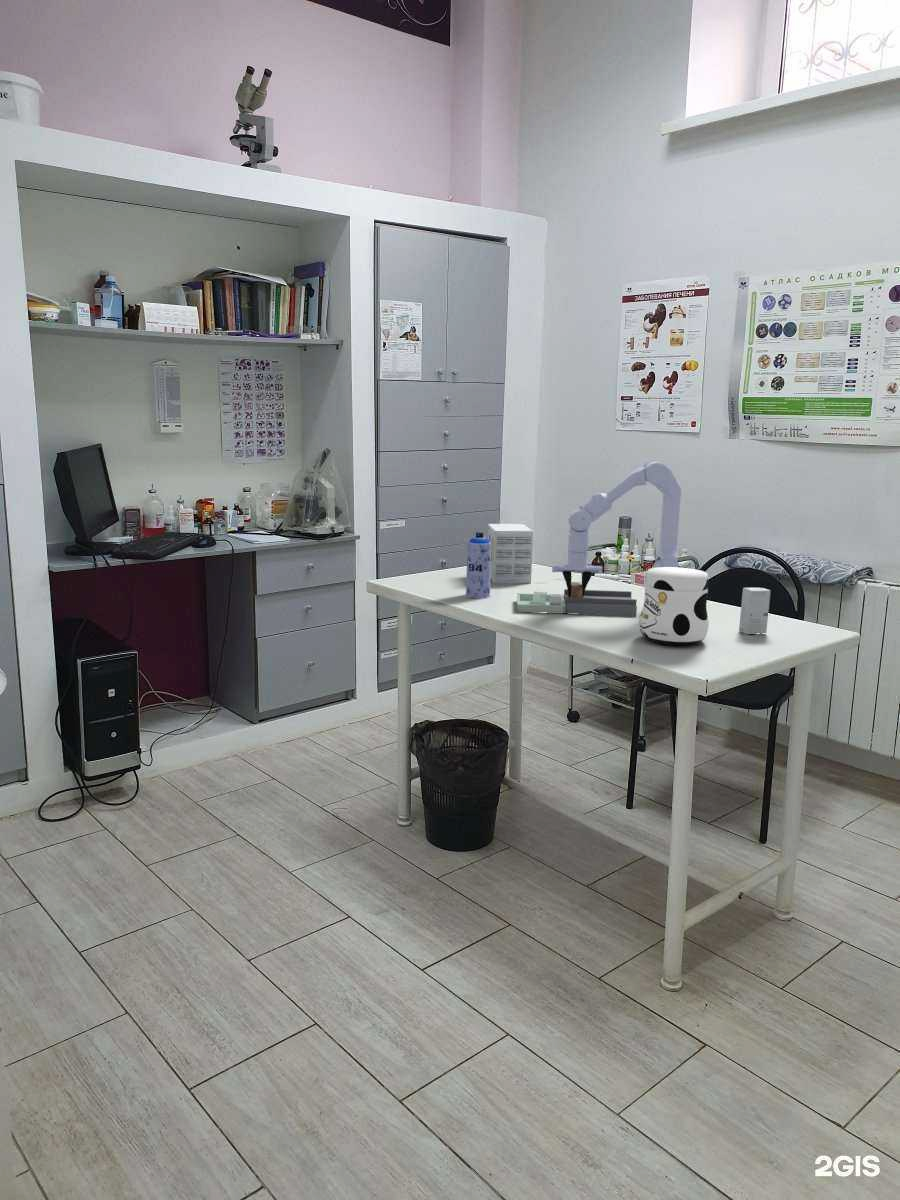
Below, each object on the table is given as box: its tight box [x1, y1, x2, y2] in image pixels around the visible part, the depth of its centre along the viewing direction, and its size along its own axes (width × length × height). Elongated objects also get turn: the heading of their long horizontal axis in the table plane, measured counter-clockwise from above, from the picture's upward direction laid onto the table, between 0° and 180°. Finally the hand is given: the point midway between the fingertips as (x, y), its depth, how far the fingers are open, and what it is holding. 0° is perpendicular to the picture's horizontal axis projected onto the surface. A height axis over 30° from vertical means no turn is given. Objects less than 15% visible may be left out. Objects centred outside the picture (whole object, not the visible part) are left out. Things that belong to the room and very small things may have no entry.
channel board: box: [563, 588, 638, 617], centre depth 269 cm, size 20×15×4 cm
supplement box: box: [487, 523, 534, 584], centre depth 312 cm, size 17×13×18 cm
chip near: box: [549, 593, 561, 605], centre depth 266 cm, size 4×4×3 cm
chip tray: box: [516, 592, 566, 613], centre depth 270 cm, size 14×16×2 cm
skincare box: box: [738, 587, 771, 635], centre depth 243 cm, size 6×4×12 cm
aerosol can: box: [465, 532, 491, 599], centre depth 283 cm, size 8×8×20 cm
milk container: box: [638, 567, 710, 646], centre depth 233 cm, size 17×17×18 cm
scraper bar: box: [571, 581, 583, 597], centre depth 269 cm, size 3×9×4 cm, turn 176°
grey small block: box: [532, 591, 548, 605], centre depth 274 cm, size 4×4×3 cm
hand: (575, 596), depth 269 cm, fingers closed on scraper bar, 3 cm apart
